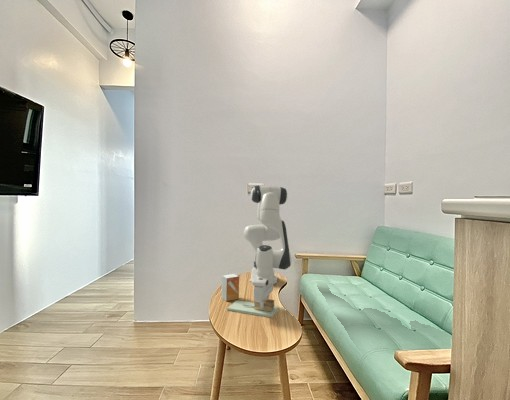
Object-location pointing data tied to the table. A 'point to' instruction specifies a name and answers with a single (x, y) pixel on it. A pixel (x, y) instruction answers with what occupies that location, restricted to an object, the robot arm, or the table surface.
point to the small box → (230, 287)
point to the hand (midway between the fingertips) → (264, 305)
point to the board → (251, 309)
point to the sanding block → (265, 305)
